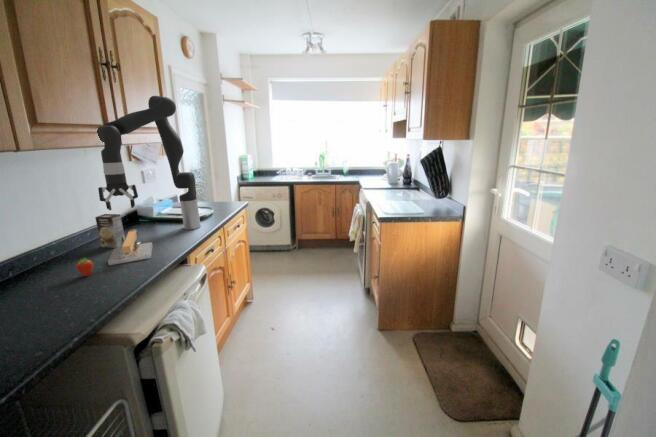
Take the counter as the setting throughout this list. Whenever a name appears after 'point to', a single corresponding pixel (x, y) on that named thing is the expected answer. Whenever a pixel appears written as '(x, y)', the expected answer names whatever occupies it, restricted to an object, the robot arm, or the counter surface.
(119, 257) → the plate
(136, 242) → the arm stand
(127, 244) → the swing arm
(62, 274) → the counter surface
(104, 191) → the robot arm
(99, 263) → the counter surface
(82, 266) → the fruit
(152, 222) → the counter surface
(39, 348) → the counter surface
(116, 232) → the coffee box
